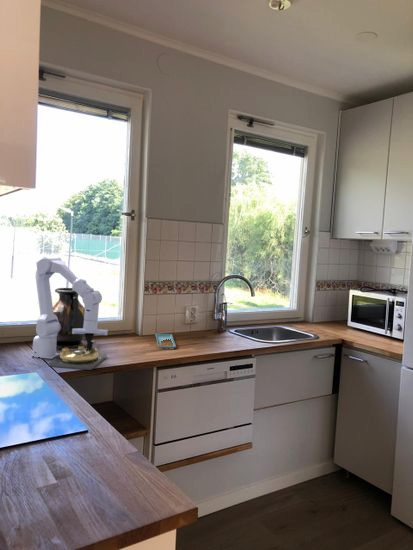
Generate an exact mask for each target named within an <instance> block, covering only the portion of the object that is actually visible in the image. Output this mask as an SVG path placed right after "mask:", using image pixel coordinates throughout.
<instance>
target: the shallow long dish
mask: <svg viewBox="0 0 413 550" xmlns="http://www.w3.org/2000/svg"><path fill="white" fill-rule="evenodd" d="M155 338H156V343H157V347H158V349H159V348H175V349H176V348H177V345H176V343H175V339H174V337H173V334H168V333H155ZM166 339H167V340H168V339H169V340H170V339H171V341H172V343H173V346H159V343H160V345H161V341H163V340H166Z"/></svg>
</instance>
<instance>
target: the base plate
mask: <svg viewBox="0 0 413 550" xmlns="http://www.w3.org/2000/svg"><path fill="white" fill-rule="evenodd" d="M107 355H108V354H107V353H99V352H98V359H96V360H94V361H90V362H83V363H73V362H66V361H62V360H61V359H60V355H58V356H56V357H55V358H53V359H51V361H49V362H48V367H54V368H65V369H77V370H88V371H89V370H90V371H91V370H93V369H95V367H97V366H99V364H101V363H102V362H103V361H104V360H105V359H106V358H107V357H108V356H107ZM101 361H102V362H101Z"/></svg>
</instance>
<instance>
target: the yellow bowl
mask: <svg viewBox="0 0 413 550" xmlns="http://www.w3.org/2000/svg"><path fill="white" fill-rule="evenodd" d="M96 343H97V342H96V340H91V342H90V351H86V348H87V347H85V345H84V346H79V347H78V348H74V349H69V348H63V349H62V350H60V351H59V352H60V354H59V356H60V359H61V360H62V361H66V362H73V363H83V362H90V361H94V360H96V359H98V353H99V349H98V348H97V347H96Z"/></svg>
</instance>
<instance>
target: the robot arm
mask: <svg viewBox="0 0 413 550" xmlns="http://www.w3.org/2000/svg"><path fill="white" fill-rule="evenodd" d="M55 273H56V274H59V275H61V276H62V277H63V278H64V279H65V280H67V282H68V283H70V284H71V285H72V287H71V288H73V289H74V290H75V291H76V292H77V293H78V294H79V297H81V298H82V303H83V305H84V306H83V307H84V308H85V312H84V326H83V328H79V329H72V334H85V339H84V340H85V341H86V347H85V348H86V351H90V342H91V341H93V339H94V338H95V337H94V335H97V336H98V335H99V336H100V335H101V336H108V329H100V328H98V322H99V321H98V320H99V307H100V303H101V302H102V299H103V296H102V294H101V292H100V291H99V290H94V288H93V287H91V286H90V285H89V284H88V283H87V280H86V279H83V278H80V279H79V278H78V277H77V276H76V275H75V274H74V272H73V271H72V270H71V268H69V267H68V266H67V265H66V263H65V261H64V260H63V259H62V258H61V257H60V256H47V257H46V256H42V257H40V258H39V259H38V261H37V262H36V271H35V283H36V290H37V298H38V306H39V317H38V318H37V320H36V326H35V327H36V328H35V332H36V334H37V335H35V337H33V340H32V355H31V357H32V356H34V357H33V358H38V357H40V359H51V360H54V359H55V358H57V357H59V356H60V353H59V352H57V349H56V343H57V335H58V332H59V331H60V328H61V326H60V323H59V322H58V317H57V316H56V315H55V314H54V313H53V306H54V305H53V298H52V292H51V291H52V290H51V289H52V288H51V283H50V278H51V277H52V276H53V275H55ZM47 321H48V322H47Z"/></svg>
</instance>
